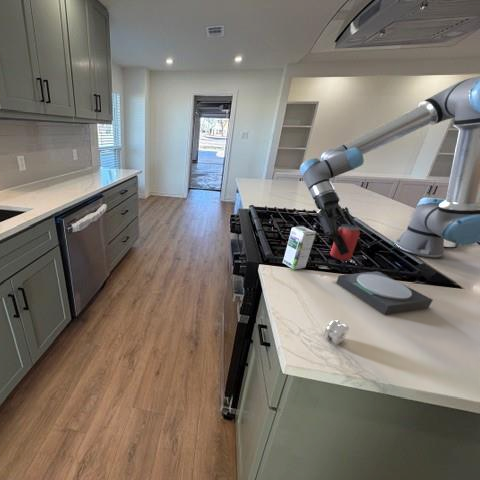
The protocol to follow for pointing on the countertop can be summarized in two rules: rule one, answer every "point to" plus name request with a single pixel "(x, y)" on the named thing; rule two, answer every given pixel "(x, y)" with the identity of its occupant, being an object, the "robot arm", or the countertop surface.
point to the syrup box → (299, 247)
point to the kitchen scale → (383, 292)
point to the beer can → (346, 241)
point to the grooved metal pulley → (336, 331)
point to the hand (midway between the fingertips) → (352, 252)
